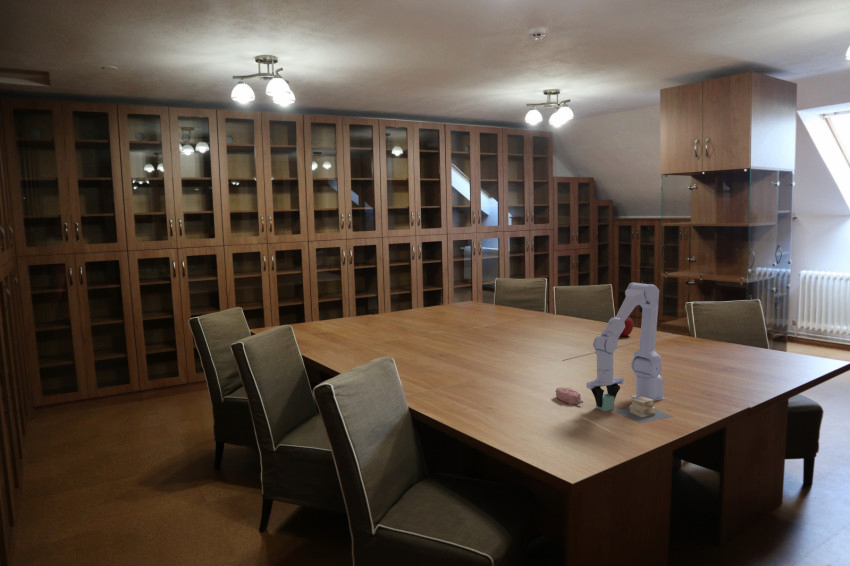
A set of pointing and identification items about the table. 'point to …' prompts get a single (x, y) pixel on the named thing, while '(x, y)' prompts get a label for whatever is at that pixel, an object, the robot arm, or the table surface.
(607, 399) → the teal block
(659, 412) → the felt mat
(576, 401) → the ice cream bar
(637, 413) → the tower base
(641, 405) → the tower mid
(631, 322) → the apple
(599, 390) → the robot arm
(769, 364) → the table surface
